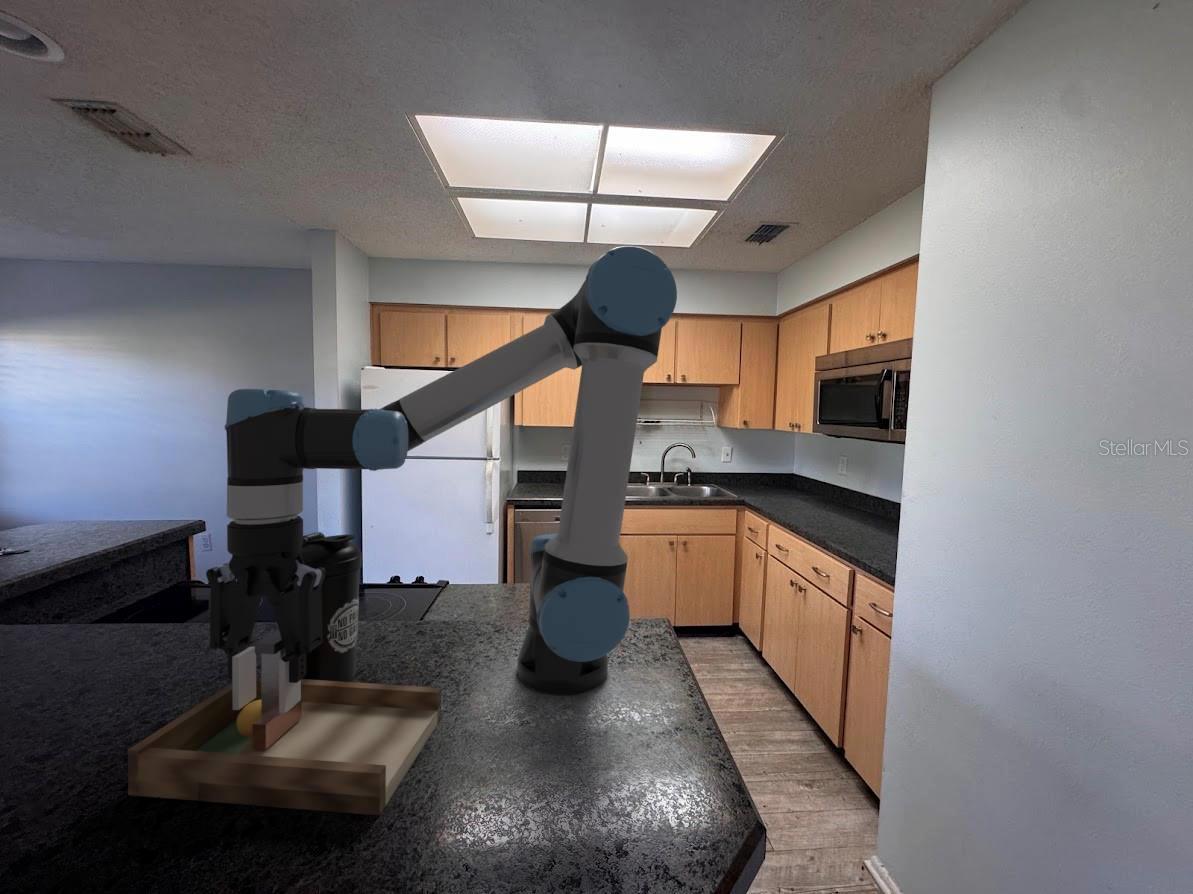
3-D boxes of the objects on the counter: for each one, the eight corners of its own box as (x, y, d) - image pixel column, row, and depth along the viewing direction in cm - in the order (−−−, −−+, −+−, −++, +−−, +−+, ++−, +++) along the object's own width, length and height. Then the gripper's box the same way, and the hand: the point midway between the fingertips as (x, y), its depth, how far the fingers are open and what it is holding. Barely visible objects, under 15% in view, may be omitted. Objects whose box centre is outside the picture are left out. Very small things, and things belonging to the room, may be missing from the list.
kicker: (304, 718, 60) (304, 625, 60) (268, 750, 54) (268, 647, 54) (286, 717, 60) (286, 624, 60) (249, 748, 54) (249, 646, 54)
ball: (279, 690, 59) (250, 695, 59) (255, 709, 55) (224, 715, 55) (287, 720, 59) (258, 725, 59) (263, 741, 55) (232, 747, 55)
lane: (440, 719, 64) (441, 684, 64) (379, 815, 48) (379, 768, 48) (248, 706, 66) (248, 672, 66) (128, 795, 50) (127, 749, 50)
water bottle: (328, 702, 68) (329, 545, 67) (270, 692, 70) (270, 540, 69) (375, 667, 78) (376, 531, 77) (322, 659, 80) (323, 526, 79)
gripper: (356, 514, 59) (356, 691, 60) (222, 509, 60) (223, 684, 61) (318, 526, 52) (318, 728, 53) (165, 521, 53) (167, 719, 54)
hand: (267, 704), depth 57 cm, fingers open, 5 cm apart
